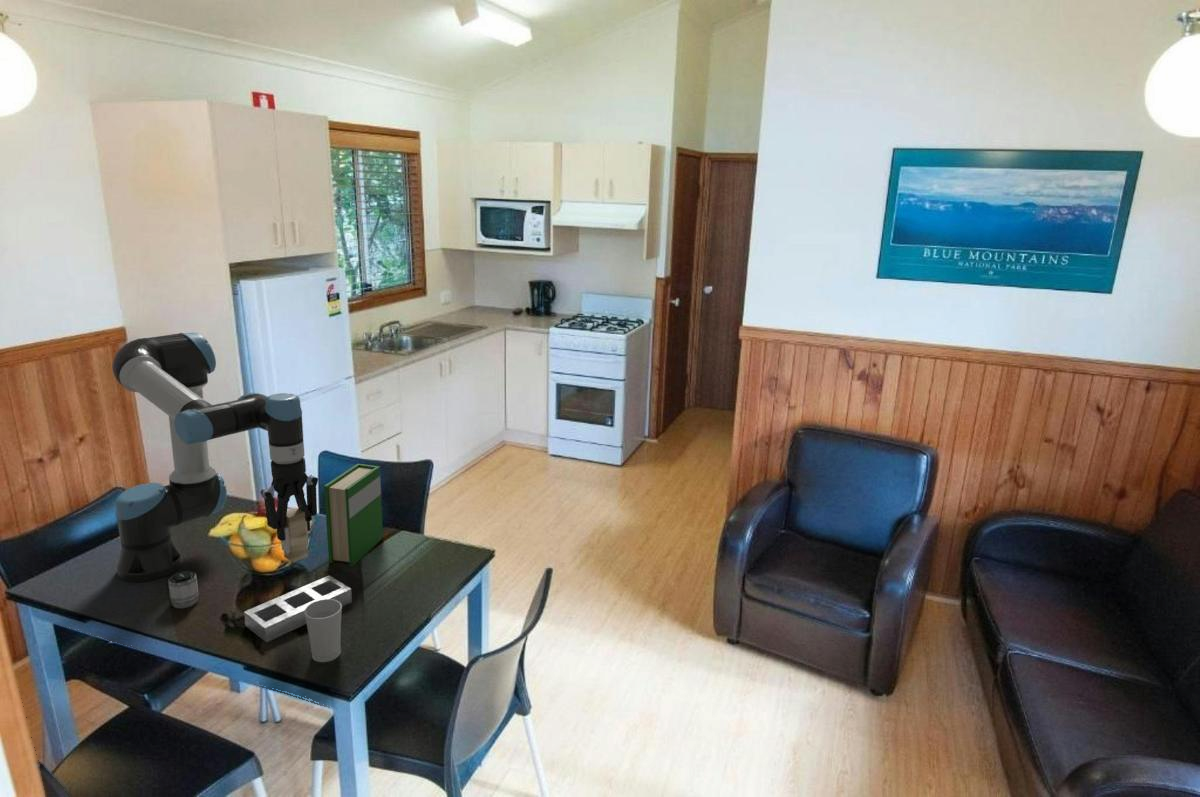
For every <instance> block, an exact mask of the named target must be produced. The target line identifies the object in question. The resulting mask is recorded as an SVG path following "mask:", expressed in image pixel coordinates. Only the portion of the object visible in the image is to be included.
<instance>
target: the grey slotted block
mask: <svg viewBox="0 0 1200 797" xmlns="http://www.w3.org/2000/svg"><path fill="white" fill-rule="evenodd" d="M323 599H333V600H337V601H339V602H340V603H341V604H342V608H343V607H345V606H347V605H349V604H352V602H353V599H352V588H351V587H349V586H347V585H346V584H345V583H342V582H341V581H339V580H337V579H336V578H335V577H333V576H332V575H327V576H324V577H322V578H319V579H317V580H315V581H312V582H310V583H308V584H306V585H303V586H301V587H299V588H296V589H294V590H291V591H288V592H286V593H285V594H282V595H280V596H278V597H275V598H273V599H270V600H268V601H266V602H263V603H260V604H258V605H257V606H254V607H251V608H249V609H247V610H245V611H244V612H243V616H244V624H245V627H246V628H248V629H249V630H250V631H251V632H252V633H254V634H255V635H256V636H257V637H259V638H260V639H261V640H263V641H264V642H265V643H269V642H271V641H272V640H275V639H277V638H280V637H281V636H283V635H286V634H288V633H290V632H292V631H295V630H296V629H298V628H300V627H302V626H304V625H307V623H306V617H305V609H306V607H307V606H308V605H310V604H311V603H313V602H315V601H318V600H323Z"/></svg>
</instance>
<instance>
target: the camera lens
mask: <svg viewBox="0 0 1200 797" xmlns="http://www.w3.org/2000/svg"><path fill="white" fill-rule="evenodd" d="M167 583H168V589H169V599H170V601H171V602H170V603H171V605H172V607H174V608H175V609H185V608H186V609H187V608H190V607H193V606H194V605H195V604H197V602H198V600H199V587H198V578H197V573H196V572H194V571H189V570H184V571H178V572H176V573H174V574H172V575H171V576H170V577H169V578H168V580H167Z"/></svg>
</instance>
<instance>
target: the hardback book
mask: <svg viewBox="0 0 1200 797" xmlns="http://www.w3.org/2000/svg"><path fill="white" fill-rule="evenodd" d="M381 485H382V484H381V466H379V465H371V464H364V463H363V464H362V463H356V464H354V465H353V466H352V467H350V468H349V469H347V470H345V471H344V472H342V473H341V474H340V475H337V477H335V478H333V479H332V480H330V481H329V482H328V483H326V484H325V485H323V493H324V505H325V507H324V508H325V521H326V522H325V523H326V534H327V535H326V537H327V553H328V563H329V564H330V563H335V562H334V561H337V562H338V561H340V562H347V563H348V564H349V565H348V566H350V567H353V566H354V565H355V564H357V563H358V562H359V561H360V560H361V559H362V558H363V557H365V555H366V554H368V552H370V551H371V550H372V549H373V548H374V547H375V546H376V545H377V544H378V543H380V542H381V540H383V538H384V536H383V535H384V531H383V529H384V528H383V527H384V526H383V511H382V510H383V509H382V508H383V507H382V486H381Z"/></svg>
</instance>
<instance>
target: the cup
mask: <svg viewBox="0 0 1200 797" xmlns="http://www.w3.org/2000/svg"><path fill="white" fill-rule="evenodd" d="M342 610H343V607H342V604H341V603H340V602H339V601H337V600H333V599H323V600H318V601H315V602H313V603H311V604H310V605H308V606H307V607H306V609H305V617H306V623H307V624H306V627H307V628H306V629H307V633H308V640H309V643H310V651H311V658H312V660H313V661H314V662H318V663H327V662H328V663H329V662H331V661H334V660H336V659H337V658H338V657H340V655H341V653H342V649H341V648H342V647H341V639H342V638H341V636H342V633H341V632H342V630H341V628H342V614H343V613H342V612H343V611H342Z"/></svg>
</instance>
